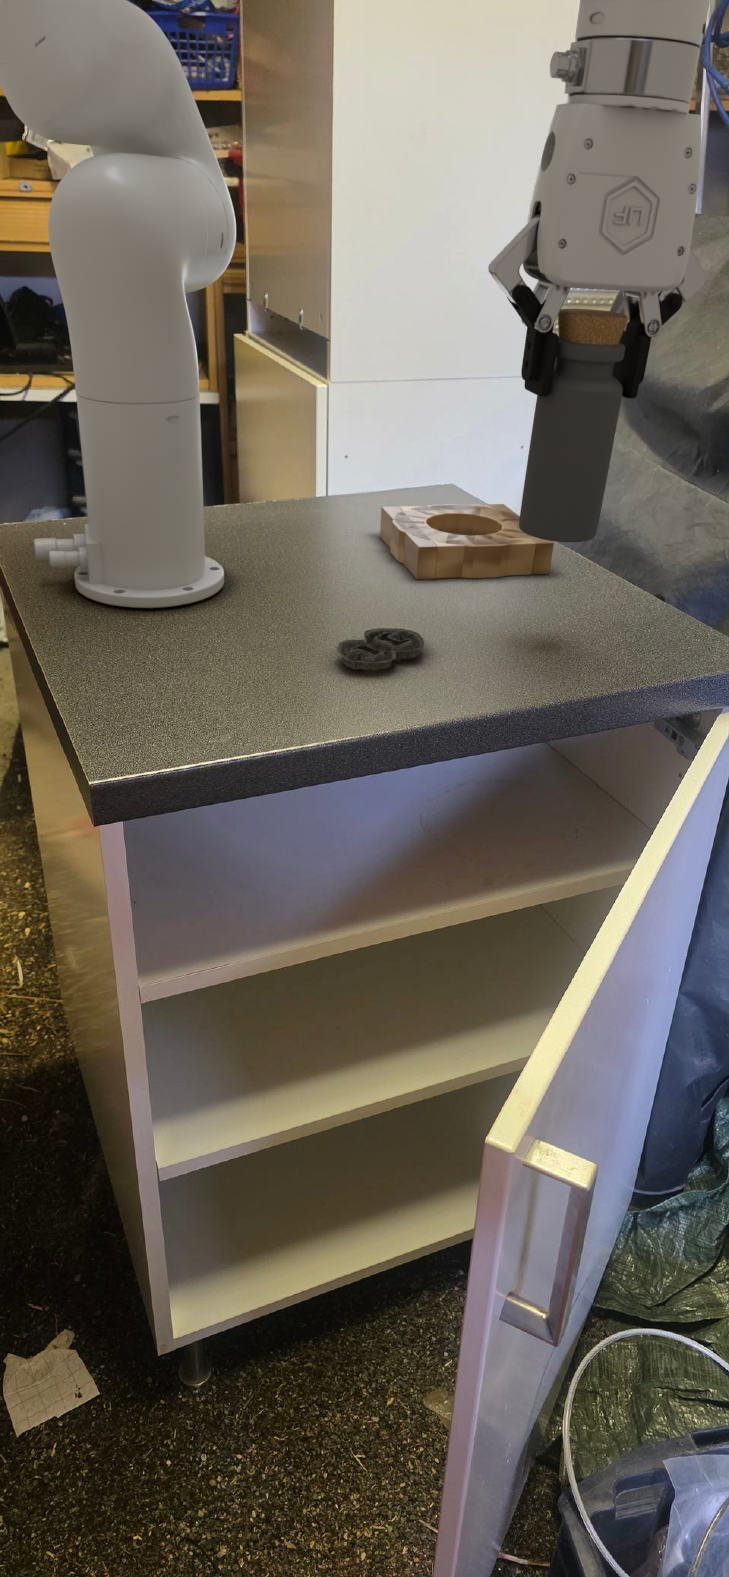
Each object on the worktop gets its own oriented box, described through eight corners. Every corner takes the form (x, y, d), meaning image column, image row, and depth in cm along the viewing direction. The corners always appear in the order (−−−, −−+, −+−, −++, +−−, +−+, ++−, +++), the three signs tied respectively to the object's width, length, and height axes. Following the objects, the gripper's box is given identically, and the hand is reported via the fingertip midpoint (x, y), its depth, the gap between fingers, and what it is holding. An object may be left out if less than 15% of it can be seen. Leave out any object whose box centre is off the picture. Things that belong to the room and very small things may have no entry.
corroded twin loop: (319, 661, 76) (320, 648, 75) (387, 633, 81) (387, 620, 80) (372, 682, 73) (373, 668, 72) (438, 651, 78) (439, 638, 78)
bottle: (612, 538, 76) (655, 319, 69) (551, 546, 74) (588, 318, 66) (562, 516, 80) (597, 307, 73) (502, 523, 78) (532, 306, 70)
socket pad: (413, 581, 92) (416, 548, 91) (375, 535, 104) (377, 505, 102) (554, 575, 96) (559, 543, 94) (502, 531, 107) (505, 502, 105)
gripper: (522, 65, 58) (482, 402, 67) (789, 93, 62) (716, 407, 71) (477, 73, 64) (446, 381, 73) (722, 98, 68) (664, 386, 77)
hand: (580, 391), depth 72 cm, fingers closed on bottle, 5 cm apart
